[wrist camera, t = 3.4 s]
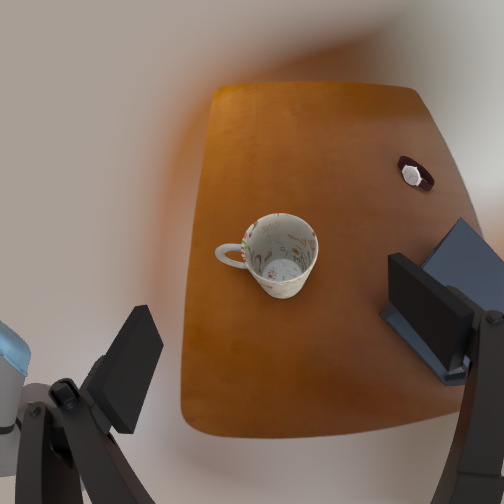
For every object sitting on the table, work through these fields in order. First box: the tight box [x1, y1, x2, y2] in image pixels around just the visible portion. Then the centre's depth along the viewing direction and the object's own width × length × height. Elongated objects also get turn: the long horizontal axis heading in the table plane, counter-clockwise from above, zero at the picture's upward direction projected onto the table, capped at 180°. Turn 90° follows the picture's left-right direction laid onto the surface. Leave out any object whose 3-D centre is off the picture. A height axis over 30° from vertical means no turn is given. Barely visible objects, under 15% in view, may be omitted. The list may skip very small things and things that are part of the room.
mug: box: [215, 213, 318, 299], centre depth 37 cm, size 8×13×10 cm, turn 81°
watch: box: [398, 156, 435, 191], centre depth 44 cm, size 8×5×4 cm, turn 35°
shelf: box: [379, 217, 504, 386], centre depth 31 cm, size 15×15×9 cm
